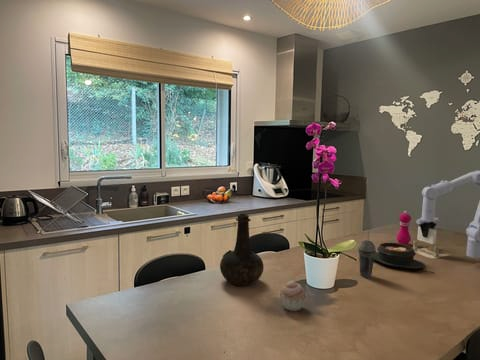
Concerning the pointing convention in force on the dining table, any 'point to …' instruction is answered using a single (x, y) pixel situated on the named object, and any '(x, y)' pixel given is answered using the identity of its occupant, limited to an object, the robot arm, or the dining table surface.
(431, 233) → the white upright panel
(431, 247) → the offcut stack
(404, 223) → the pepper mill
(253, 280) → the glass bottle
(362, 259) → the beverage cup
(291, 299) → the cupcake
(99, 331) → the dining table surface
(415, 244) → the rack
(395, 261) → the casserole
